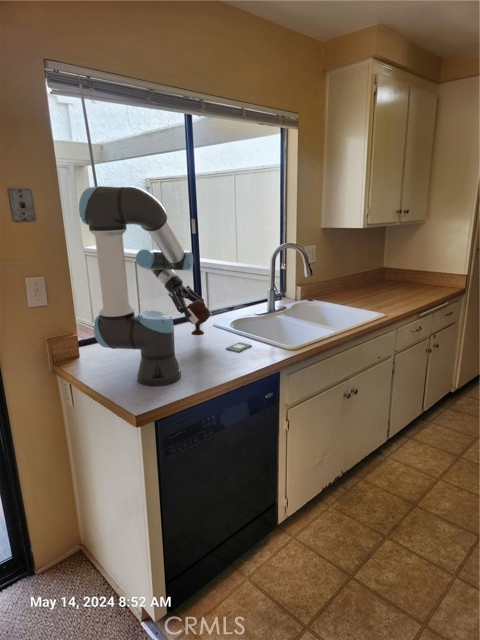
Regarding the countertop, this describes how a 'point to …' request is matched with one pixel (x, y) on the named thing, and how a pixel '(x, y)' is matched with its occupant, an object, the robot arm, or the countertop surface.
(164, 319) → the robot arm
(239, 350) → the mat
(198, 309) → the ice cream bowl
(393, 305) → the countertop surface
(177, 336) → the countertop surface
